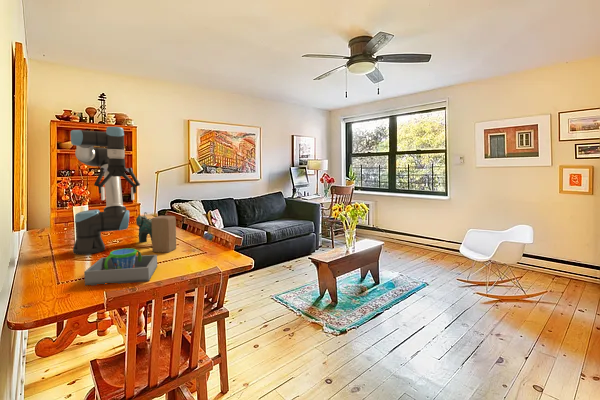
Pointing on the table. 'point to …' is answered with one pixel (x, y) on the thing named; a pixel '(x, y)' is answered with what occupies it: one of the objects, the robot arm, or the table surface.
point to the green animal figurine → (144, 228)
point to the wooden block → (163, 234)
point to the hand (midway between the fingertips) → (118, 199)
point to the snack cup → (123, 258)
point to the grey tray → (121, 271)
